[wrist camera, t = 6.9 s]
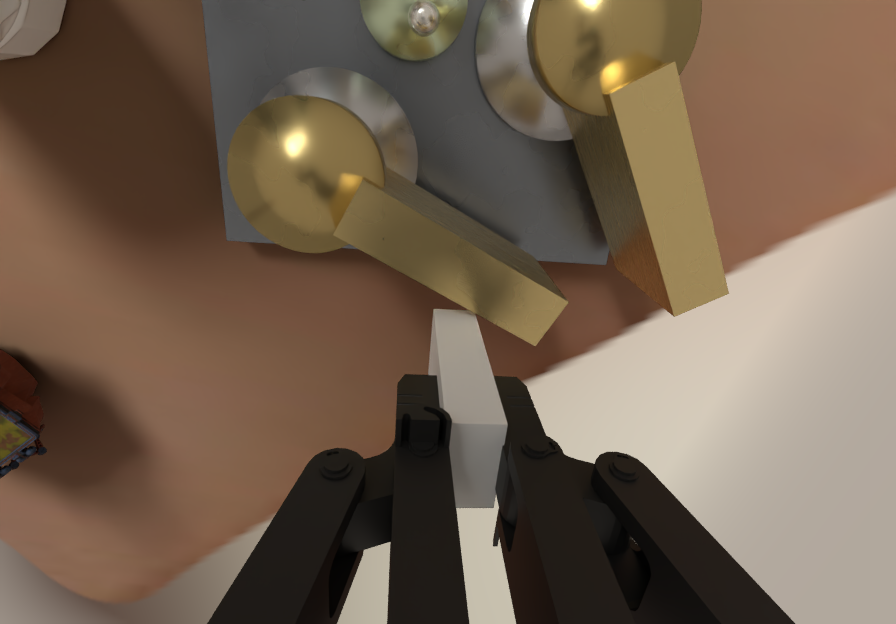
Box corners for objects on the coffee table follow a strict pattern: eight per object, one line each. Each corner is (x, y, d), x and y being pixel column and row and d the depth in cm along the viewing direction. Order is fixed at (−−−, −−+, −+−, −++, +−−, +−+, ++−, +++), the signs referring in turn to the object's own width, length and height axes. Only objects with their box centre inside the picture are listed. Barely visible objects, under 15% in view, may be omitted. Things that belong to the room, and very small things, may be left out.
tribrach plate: (181, -382, 15) (123, -501, 12) (712, -287, 17) (777, -373, 14) (238, 231, 23) (212, 251, 20) (594, 255, 25) (619, 276, 22)
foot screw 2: (485, 11, 18) (516, -30, 12) (605, -53, 17) (692, -125, 12) (583, 277, 23) (637, 332, 17) (680, 233, 22) (767, 276, 16)
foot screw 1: (256, 180, 20) (195, 209, 14) (305, 71, 18) (258, 57, 13) (489, 310, 23) (513, 375, 17) (548, 226, 21) (593, 269, 16)
